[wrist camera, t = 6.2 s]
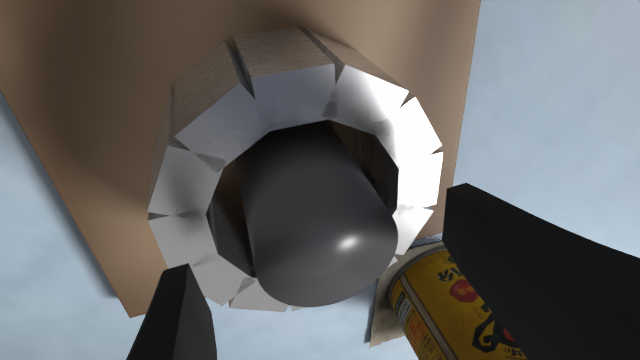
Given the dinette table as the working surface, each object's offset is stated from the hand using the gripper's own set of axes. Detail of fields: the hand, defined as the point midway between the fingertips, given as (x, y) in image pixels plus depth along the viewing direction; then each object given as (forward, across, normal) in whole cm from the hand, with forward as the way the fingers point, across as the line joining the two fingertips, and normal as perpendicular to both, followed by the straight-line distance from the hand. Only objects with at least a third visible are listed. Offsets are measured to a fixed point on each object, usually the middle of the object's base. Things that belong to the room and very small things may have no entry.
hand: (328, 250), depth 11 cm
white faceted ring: (+7, 0, 0) cm, 7 cm away
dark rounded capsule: (+6, 0, 0) cm, 6 cm away
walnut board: (+7, 0, 0) cm, 7 cm away
